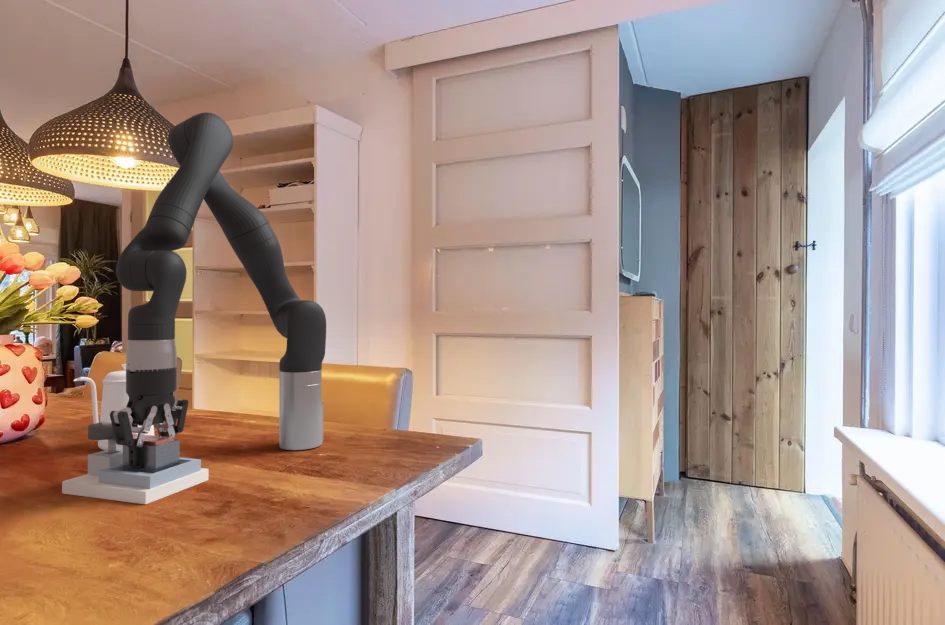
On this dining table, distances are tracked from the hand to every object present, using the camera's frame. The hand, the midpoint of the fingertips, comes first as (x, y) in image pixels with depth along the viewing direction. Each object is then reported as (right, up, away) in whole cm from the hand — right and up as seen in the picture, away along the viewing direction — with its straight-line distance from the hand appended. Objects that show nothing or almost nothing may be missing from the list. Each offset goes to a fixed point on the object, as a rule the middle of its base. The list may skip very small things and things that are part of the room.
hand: (151, 463), depth 92 cm
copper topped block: (0, -1, 0) cm, 1 cm away
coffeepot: (-24, -5, +29) cm, 38 cm away
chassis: (-3, -4, +1) cm, 5 cm away
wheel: (-9, +1, +3) cm, 9 cm away
